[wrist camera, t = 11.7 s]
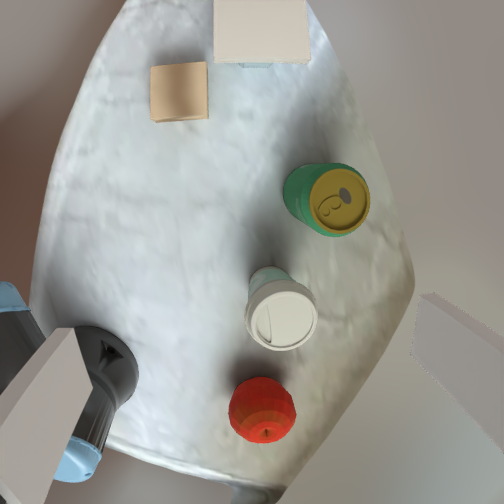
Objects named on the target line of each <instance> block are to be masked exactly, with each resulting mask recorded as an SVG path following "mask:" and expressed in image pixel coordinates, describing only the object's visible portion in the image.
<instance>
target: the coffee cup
mask: <svg viewBox="0 0 504 504" xmlns="http://www.w3.org/2000/svg"><path fill="white" fill-rule="evenodd" d="M317 318H318V308H317V303H316V300H315V298H314V296H313V294H312V293H311V292H310V291H309V290H308V289H307V288H306V287H305V286H303V285H302V284H300V283H297V282H296V281H295V280H293V279H292V278H291V277H290V276H289V275H288V274H286V273H285V272H284V271H283V270H281V269H280V268H278V267H274V266H266V267H262V268H260V269H259V270H257V271H256V272H255V273H254V274H253V275H252V277H251V279H250V282H249V293H248V303H247V305H246V309H245V315H244V319H245V324H246V327H247V330H248V331H249V333H250V335H251V336H252V337H253V338H254V340H256V341H257V342H258V343H260V344H261V345H262V346H264V347H266V348H268V349H271V350H276V351H286V350H290V349H294V348H296V347H298V346H300V345H302V344H303V343H304V342H305V341H307V340H308V339H309V337H310V336H311V335H312V333H313V332H314V330H315V327H316V323H317Z"/></svg>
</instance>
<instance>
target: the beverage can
mask: <svg viewBox="0 0 504 504" xmlns="http://www.w3.org/2000/svg"><path fill="white" fill-rule="evenodd" d="M283 196H284V202H285V204H286V207H287V209H288V210H289V212H290V213H291V214H292V215H293V216H294V217H296V218H297V219H299V220H300V221H302V222H303V223H305V224H306V225H308V226H309V227H311V228H312V229H314V230H315V231H317V232H318V233H320V234H323V235H325V236H329V237H340V236H344V235H347V234H349V233H351V232H353V231H354V230H356V229H357V228H358V227H359V226H360V225H361V224H362V223H363V221H364V220H365V218H366V217H367V214H368V212H369V208H370V194H369V189H368V186H367V184H366V182H365V180H364V178H363V177H362V176H361V174H360V173H359V172H358V171H356V170H355V169H354V168H352V167H350V166H348V165H345V164H341V163H323V164H307V165H303V166H300V167H298V168H297V169H295V170H294V171H293V172H292V173H291V174H290V175H289V177H288V178H287V180H286V182H285V185H284V191H283Z"/></svg>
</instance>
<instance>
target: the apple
mask: <svg viewBox="0 0 504 504" xmlns="http://www.w3.org/2000/svg"><path fill="white" fill-rule="evenodd" d="M228 414H229V419H230V423H231V426H232V427H233V429H234V430H235V431H236V433H238V434H239V435H240V436H242V437H243V438H245V439H246V440H248V441H250V442H254V443H270V442H275V441H278V440H279V439H281V438H282V437H284V436H285V435H286V434H287V433H288V432H289V431H290V429H291V428H292V426H293V425H294V423H295V419H296V411H295V407H294V403H293V400H292V397H291V395H290V394H289V393H288V392H287V391H286V390H285V389H284V387H283V386H282V385H280V384H279V383H278V382H277V381H276V380H273V379H271V378H268V377H255V378H252V379H249V380H246V381H244V382H243V383H241V384H240V385H238V386H237V388H236V390H235V391H234V393H233V395H232V398H231V401H230V404H229V412H228Z"/></svg>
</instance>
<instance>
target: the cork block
mask: <svg viewBox="0 0 504 504" xmlns="http://www.w3.org/2000/svg"><path fill="white" fill-rule="evenodd" d="M150 119H152V120H153V121H155V122H156V123H161V122H171V121H183V120H197V119H208V70H207V62H191V63H179V64H169V65H160V66H152V67H151V74H150Z"/></svg>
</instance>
